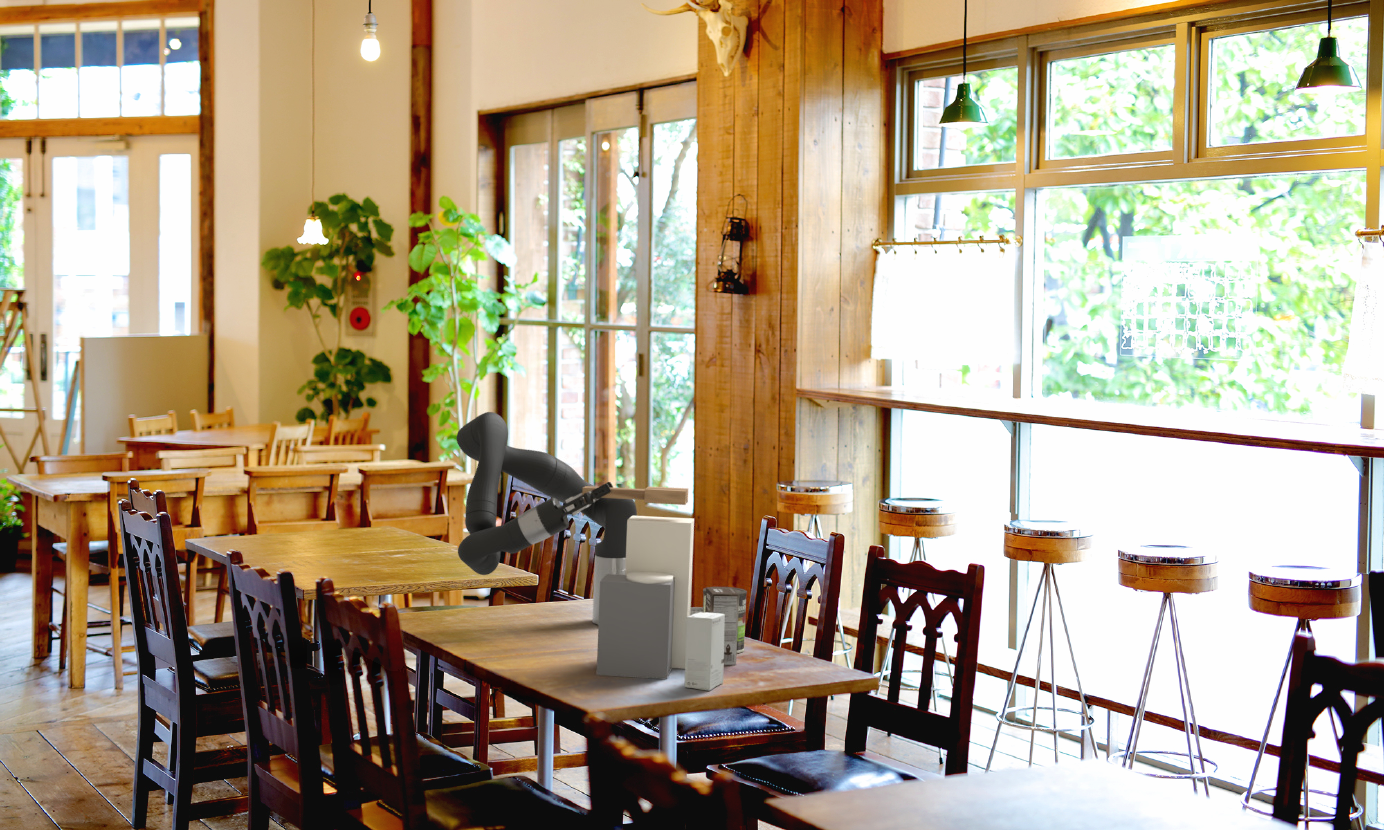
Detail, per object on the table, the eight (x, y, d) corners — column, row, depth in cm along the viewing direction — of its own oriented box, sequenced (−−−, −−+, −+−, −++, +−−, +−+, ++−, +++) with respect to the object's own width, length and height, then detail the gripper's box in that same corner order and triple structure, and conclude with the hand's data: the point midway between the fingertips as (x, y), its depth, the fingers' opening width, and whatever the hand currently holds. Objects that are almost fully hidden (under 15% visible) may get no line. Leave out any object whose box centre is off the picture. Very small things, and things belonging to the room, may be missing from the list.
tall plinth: (626, 656, 296) (632, 515, 295) (688, 659, 295) (694, 518, 293) (621, 664, 287) (627, 519, 286) (685, 668, 286) (691, 523, 285)
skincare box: (709, 691, 266) (712, 619, 266) (682, 687, 268) (685, 615, 268) (724, 682, 274) (726, 612, 274) (697, 679, 276) (700, 609, 276)
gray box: (603, 664, 286) (606, 569, 286) (671, 668, 285) (675, 572, 285) (596, 674, 277) (600, 576, 276) (666, 678, 275) (670, 580, 275)
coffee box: (702, 655, 299) (705, 586, 298) (729, 656, 300) (732, 586, 300) (709, 665, 290) (712, 593, 289) (737, 665, 291) (740, 593, 291)
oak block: (586, 496, 294) (586, 483, 294) (687, 501, 292) (688, 488, 292) (581, 499, 287) (581, 485, 287) (685, 504, 285) (685, 491, 285)
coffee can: (750, 647, 310) (752, 588, 310) (736, 656, 300) (738, 595, 300) (709, 642, 314) (711, 584, 313) (694, 651, 304) (696, 590, 303)
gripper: (529, 509, 284) (598, 473, 283) (541, 503, 299) (607, 469, 297) (544, 540, 284) (614, 504, 283) (556, 532, 298) (622, 498, 297)
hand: (610, 486), depth 290 cm, fingers closed on oak block, 4 cm apart
